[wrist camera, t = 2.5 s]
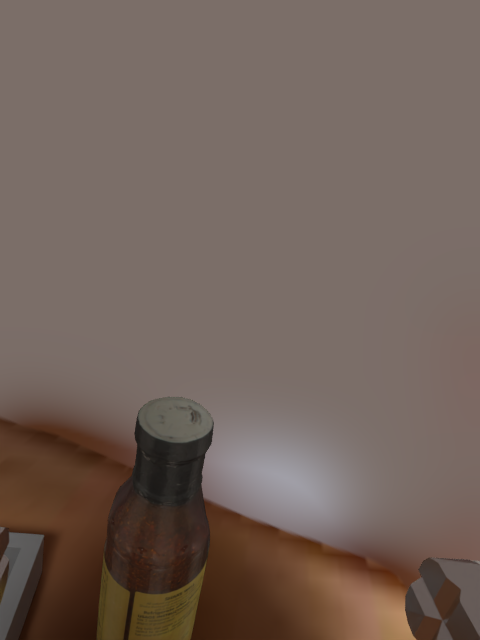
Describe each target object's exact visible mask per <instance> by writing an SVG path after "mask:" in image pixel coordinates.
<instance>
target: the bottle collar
mask: <svg viewBox="0 0 480 640" xmlns="http://www.w3.org/2000/svg"><path fill="white" fill-rule="evenodd" d="M43 547H44V535H38V534H25V533H12V532H9V544H8V546H7V548H6V550H5V553H4V555H5V556H6V557H7V558H8V559H9V572H8V578H7V584H6V587H5V591H4V594H3V597H2V601H1V603H0V640H18V639H19V636H20V633H21V631H22V628H23V625H24V622H25V619H26V616H27V613H28V610H29V608H30V605H31V602H32V599H33V596H34V593H35V590H36V588H37V585H38V582H39V579H40V576H41V573H42V563H43Z"/></svg>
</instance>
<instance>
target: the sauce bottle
mask: <svg viewBox="0 0 480 640" xmlns="http://www.w3.org/2000/svg"><path fill="white" fill-rule="evenodd" d="M213 425H214V422H213V419H212V417H211V415H210V413H209V412H208V411H207V410H206V409H205V408H204V407H203V406H201V405H200V404H198V403H197V402H195V401H193V400H190V399H185V398H182V397H165V398H159V399H155V400H152V401H149V402H148V403H147V404H145V405H144V406H143V407H142V408H141V409H140V411H139V413H138V417H137V421H136V428H135V440H136V442H137V454H136V461H135V466H134V469H133V473H132V476H131V477H130V478H129V479H128V480H127V481H126V482H125V483H124V484H123V485H122V486H120V488H119V490H118V492H117V493H116V496H115V499H114V502H113V504H112V507H111V510H110V513H109V517H108V530H107V539H106V542H105V546H104V556H103V568H102V578H101V589H100V600H99V613H98V625H97V637H96V640H191V635H192V630H193V626H194V621H195V616H196V611H197V606H198V601H199V596H200V591H201V587H202V582H203V577H204V572H205V567H206V562H207V558H208V552H209V544H210V531H209V524H208V520H207V517H206V512H205V506H204V500H203V493H202V487H201V483H202V469H203V464H204V459H205V453H206V451H207V450H208V449H209V447H210V445H211V442H212V435H213Z"/></svg>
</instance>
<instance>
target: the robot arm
mask: <svg viewBox="0 0 480 640" xmlns="http://www.w3.org/2000/svg"><path fill="white" fill-rule="evenodd" d="M8 544H9V528H4V527H0V603H1V601H2V597H3V594H4V591H5V587H6V584H7V578H8V572H9V559H8V558H7V557H6V556H5V555H4V553H5V550H6V548H7V546H8ZM419 572H420V575H421V578H419V579H418V580H416V581H415V582H413V583H412V584H411V585H410V587H409V589H408V592H407V594H406V599H405V611H406V616H407V620H408V624H409V626H410V629H411V631H412V634H413V636H414V637H415V638H416V639H417V640H480V561H471V560H464V559H446V558H445V559H444V558H428V559H426V560H424V561H423V562H422V564H421V566H420V568H419Z"/></svg>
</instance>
